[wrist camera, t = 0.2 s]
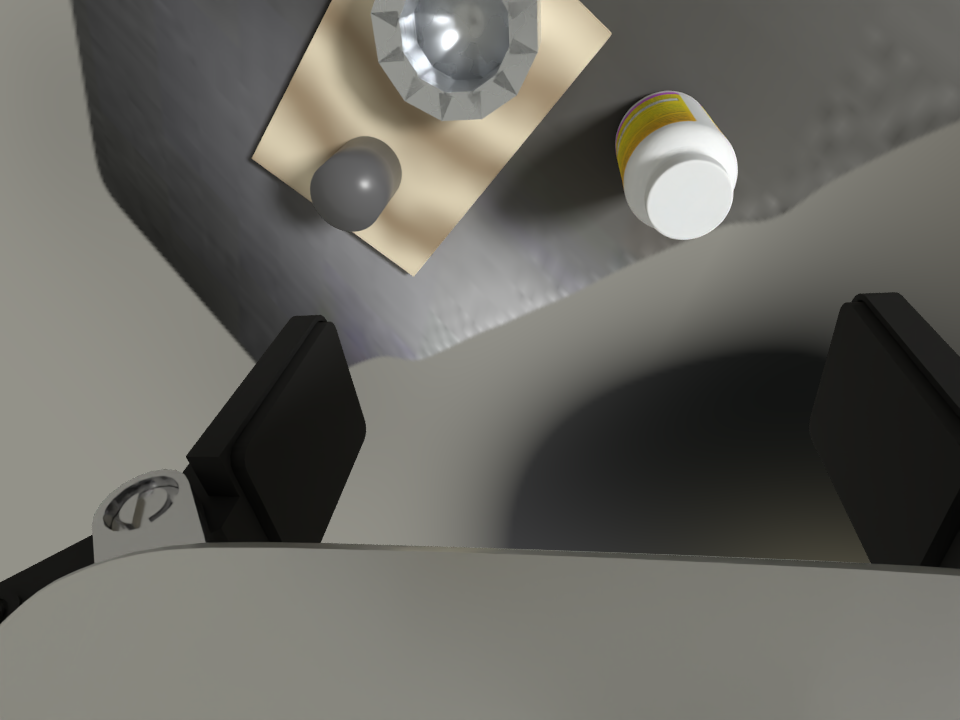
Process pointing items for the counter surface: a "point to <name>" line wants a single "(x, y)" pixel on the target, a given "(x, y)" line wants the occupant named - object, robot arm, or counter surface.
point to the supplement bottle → (675, 165)
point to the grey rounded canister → (356, 183)
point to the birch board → (414, 123)
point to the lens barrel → (457, 52)
